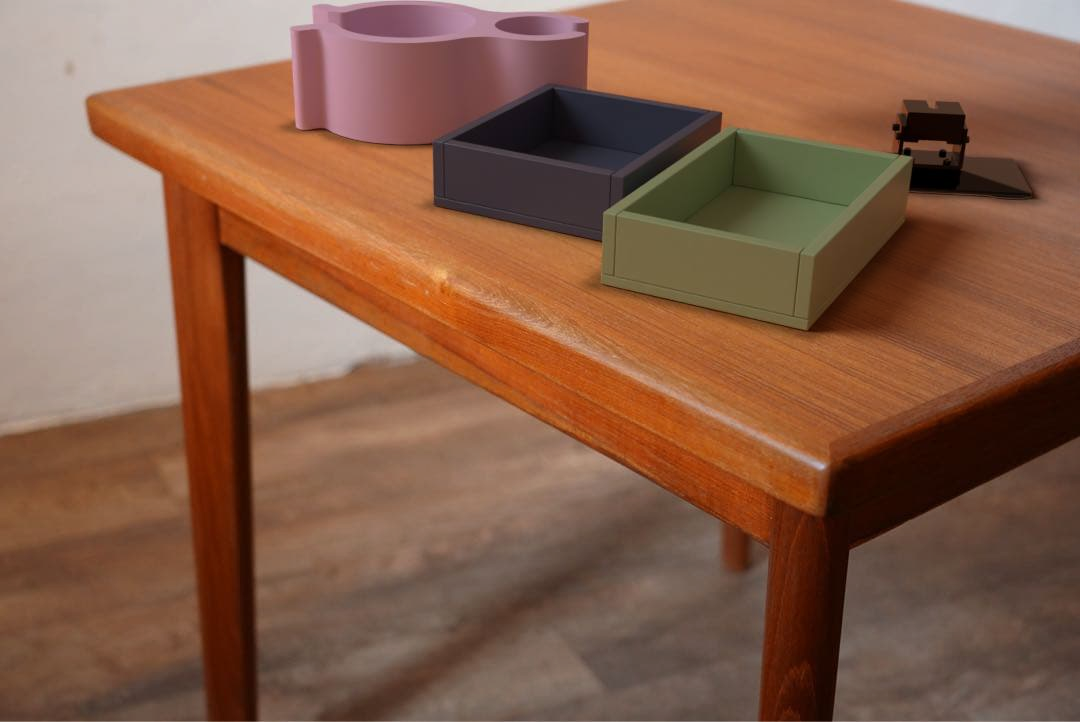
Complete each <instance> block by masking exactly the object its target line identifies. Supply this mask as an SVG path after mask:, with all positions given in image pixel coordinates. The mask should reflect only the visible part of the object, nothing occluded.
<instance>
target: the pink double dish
mask: <svg viewBox="0 0 1080 722" xmlns="http://www.w3.org/2000/svg"><path fill="white" fill-rule="evenodd" d="M311 9H312V10H311V11H312V23H309V24H300V25H293V26H290V27H289V34H290V50H291V51H290V53H291V69H292V83H293V84H292V85H293V86H292V87H293V99H294V101H293V102H294V118H295V128H296V129H298V130H301V131H309V130H315V129H326V130H328V131H329V132H331V133H333V134H335V135H338V136H340V137H344V138H347V139H351V140H355V141H360V142H366V143H373V144H383V145H385V144H386V145H428V144H429V145H430V144H433V140H435V139H437V138H439V137H441V136H443V135H445V134H447V133H449V132H451V131H453V130H455V129H457V128H459V127H461V126H463V125H465V124H467V123H469V122H471V121H473V120H475V119H477V118H479V117H481V116H483V115H485V114H487V113H489V112H491V111H494V110H496V109H498V108H500V107H502V106H504V105H506V104H508V103H510V102H512V101H514V100H516V99H518V98H520V97H522V96H524V95H526V94H528V93H530V92H532V91H534V90H536V89H538V88H540V87H542V86H544V85H546V84H548V83H551V84H557V85H563V86H569V87H575V88H581V89H587V90H588V69H589V67H588V66H589V35H590V20H589V19H587V18H583V17H580V16H577V15H573V14H567V13H560V12H550V11H493V10H485V9H480V8H477V7H473V6H469V5H466V4H465V5H464V4H458V3H454V2H453V3H452V2H444V1H432V0H379V1H368V2H359V3H354V4H353V3H352V4H348V5H342V6H339V5H333V4H328V3H318V4H313V5H311Z"/></svg>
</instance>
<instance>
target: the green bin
mask: <svg viewBox="0 0 1080 722" xmlns="http://www.w3.org/2000/svg"><path fill="white" fill-rule="evenodd" d="M880 151H881V150H880ZM880 151H879V150H875V149H874V150H873V149H868V148H861V147H857V146H856V147H855V146H851V145H850V146H849V145H844V144H838V143H834V142H833V143H832V142H826V141H820V140H813V139H809V138H803V137H797V136H790V135H785V134H779V133H773V132H769V131H768V132H767V131H761V130H756V129H750V128H743V127H737V126H732V125H728V126H726V127H725V128H724V129H721V132H719V133H718V134H717V135H715V136H714V137H712V138H711V139H709V140H708V141H706V142H705V143H704V144H702V145H701V146H699V147H698V148H696V149H695V150H693V151H692V152H690V153H689V154H688V155H686V156H685V157H683V158H682V159H680V160H679V161H677V162H676V163H675V164H673V165H672V166H670V167H669V168H667V169H666V170H664V171H663V172H661V173H660V174H659V175H657V176H656V177H654V178H653V179H651V180H650V181H648V182H647V183H645V184H644V185H643V186H641V187H640V188H638V189H637V190H635V191H634V192H632V193H631V194H630V195H628V196H627V197H625V198H624V199H622V200H621V201H619V202H618V203H616V204H615V205H614V206H612V207H611V208H609V209H608V210H606V211H605V212H604V213H603V238H602V241H601V264H600V265H601V266H600V267H601V269H600V273H601V274H600V284H601V285H605V286H608V287H612V288H613V287H614V288H619V289H622V290H627V291H632V292H635V293H640V294H644V295H648V296H654V297H658V298H663V299H666V300H671V301H675V302H679V303H684V304H689V305H692V306H696V307H701V308H706V309H710V310H714V311H719V312H723V313H727V314H732V315H737V316H740V317H745V318H749V319H754V320H758V321H762V322H766V323H772V324H775V325H780V326H783V327H784V326H785V327H789V328H792V329H793V328H794V329H797V330H801V331H808V330H809V329H811V327H812V326H813V325H814V324H815V323H816V322H817V320H818V319H819V318H820V317H821V316H822V315H823V314H824V313H825V312H826V311H827V309H828V308H829V307H830V306H831V305H832V304H833V302H835V301H836V300H837V298H838V297H839V296H840V295H841V294H842V293H843V291H845V290H846V288H847V287H848V286H849V285H850V284H851V283H852V281H854V279H855V278H856V277H858V275H859V274H860V272H862V270H863V269H864V268H865V267H866V266H867V265H868V264H869V262H870V261H871V260H872V259H873V258H874V257H875V256H876V255H877V254H878V252H879V251H880V250H881V249H882V248H883V247H884V246H885V245H886V243H887V242H888V241H889V240H890V239H891V238H892V237H893V236H894V235H895V233H896V232H897V231H898V230H899V229H900V228H901V227H902V226H903V224H904V223H905V222H906V212H907V207H908V199H909V193H910V192H909V186H910V179H911V172H912V164H913V157H909V156H903V155H897V154H891V153H886V152H887V151H883V152H880Z"/></svg>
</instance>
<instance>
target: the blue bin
mask: <svg viewBox="0 0 1080 722" xmlns="http://www.w3.org/2000/svg"><path fill="white" fill-rule="evenodd" d="M722 122H723V112H722V111H718V110H713V109H712V110H711V109H707V108H701V107H695V106H688V105H682V104H676V103H671V102H665V101H659V100H651V99H647V98H641V97H636V96H635V97H634V96H630V95H629V96H628V95H622V94H616V93H611V92H606V91H605V92H603V91H600V90H599V91H598V90H592V89H588V88H587V89H581V88H575V87H569V86H563V85H557V84H551V83H548V84H546V85H544V86H542V87H540V88H538V89H536V90H534V91H532V92H530V93H528V94H526V95H524V96H522V97H520V98H518V99H516V100H514V101H512V102H510V103H508V104H506V105H504V106H502V107H500V108H498V109H496V110H494V111H491V112H489V113H487V114H485V115H483V116H481V117H479V118H477V119H475V120H473V121H471V122H469V123H467V124H465V125H463V126H461V127H459V128H457V129H455V130H453V131H451V132H449V133H447V134H445V135H443V136H441V137H439V138H437V139H435V140H433V143H432V174H433V175H432V183H433V185H432V189H433V191H432V192H433V194H432V195H433V206H435V207H441V208H445V209H450V210H455V211H459V212H464V213H468V214H473V215H477V216H482V217H487V218H492V219H497V220H501V221H505V222H510V223H516V224H518V225H519V224H520V225H525V226H528V227H534V228H539V229H542V230H543V229H544V230H548V231H551V232H557V233H562V234H565V235H566V234H567V235H571V236H576V237H580V238H585V239H590V240H595V241H600V242H602V238H603V213H604V212H605V211H606V210H608V209H609V208H611V207H612V206H614V205H615V204H616V203H618V202H619V201H621V200H622V199H624V198H625V197H627V196H628V195H630V194H631V193H632V192H634V191H635V190H637V189H638V188H640V187H641V186H643V185H644V184H645V183H647V182H648V181H650V180H651V179H653V178H654V177H656V176H657V175H659V174H660V173H661V172H663V171H664V170H666V169H667V168H669V167H670V166H672V165H673V164H675V163H676V162H677V161H679V160H680V159H682V158H683V157H685V156H686V155H688V154H689V153H690V152H692V151H693V150H695V149H696V148H698V147H699V146H701V145H702V144H704V143H705V142H706V141H708V140H709V139H711V138H712V137H714V136H715V135H717V134H718V133H719V132H721V131H722Z"/></svg>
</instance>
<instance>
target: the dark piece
mask: <svg viewBox="0 0 1080 722" xmlns="http://www.w3.org/2000/svg"><path fill="white" fill-rule="evenodd" d="M895 115H896V116H895V122H894V123H892V124H891V131H892V132H893V138H892V146H891V151H885V152H886V153H891V154H897V155H903V156H909V157H913V164H912V172H911V179H910V186H909V193H920V194H921V193H922V194H923V193H924V194H943V195H959V196H960V195H961V196H981V197H982V196H983V197H991V198H995V199H1008V200H1025V199H1032V196H1033V191H1032V189H1031V188H1030V186H1029V184H1028V182H1027V181H1026V179H1025V177H1024V175H1023V173H1022V172H1021V170H1020V168H1019V166H1018V165H1017V162H1016V161H1015V159H1014V158H1012V157H1003V156H1002V157H998V156H981V155H977V156H976V155H965V153H966V147H967V144H969V143H970V141H971V140H970V139H971V138H970V135H968V134H969V128H968V125H967V124H966V118H967V115H966V113H965V111H964V109H963V107H962V105H961V103H960V102H959V101H945V100H935V102H934V108H933V107H930V105H929V103H928V100H926V99H925V100H923V99H902V103H901V111H900V113H899V112H896V114H895ZM919 141H929V142H930V141H931V142H945V144H946V145H952V149H951V151H950V150H949V151H948V150H947V149H944V148H939V150H929V149H926V150H925V149H912V147H909V146H907V147H906V146H905V147H904V144H905V143H911V144H913V143H915V144H919ZM880 152H884V151H883V150H882V151H881V150H880Z"/></svg>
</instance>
